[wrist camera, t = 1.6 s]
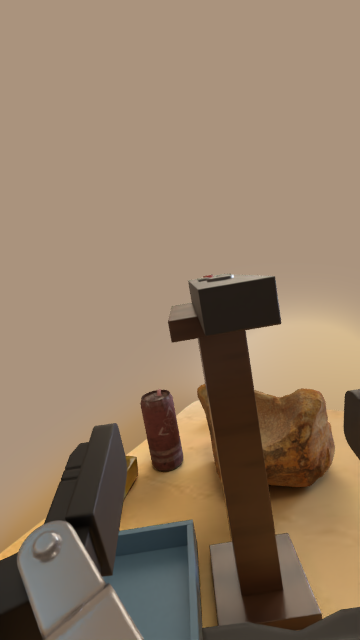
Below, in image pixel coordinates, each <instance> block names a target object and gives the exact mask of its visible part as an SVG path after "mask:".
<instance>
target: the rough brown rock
mask: <svg viewBox="0 0 360 640" xmlns="http://www.w3.org/2000/svg"><path fill="white" fill-rule="evenodd" d="M254 392H255V399H256V406H257V413H258V420H259V427H260V433H261V440H262V447H263V454H264V461H265V468H266V474H267V481H268V485H281V486H288V487H305V486H310V485H312V484H313V483H314V482H315V481H316V480H317V479H318V478H320V477H322V476H323V475H324V473H325V472H326V471H327V470H328V468H329V467H330V465H331V464H332V461H333V457H334V452H335V445H334V441H333V436H332V432H331V425H330V423H329V422H328V416H327V412H326V403H325V400H324V397H323V395H322V394H321V393H320V392H319V391H315V390H312V389H298V390H297V391H295V392H294V393H292V394H290V395H286V396H283V397H275V396H272V395H268V394H264V393H263V392H259V391H256V390H254ZM197 393H198V398H199V400H200V402H201V404H202V407H203V409H204V411H205V414H206V418H207V421H208V426H209V430H210V435H211V441H212V449H213V455H214V460H215V464H216V470H217V473H218V475H219V478H220V479H221V475H220V469H219V463H218V457H217V451H216V445H215V439H214V433H213V427H212V421H211V415H210V409H209V403H208V397H207V391H206V385H205V384H204V385H201V386H200V387H199V388H198V391H197Z"/></svg>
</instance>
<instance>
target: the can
mask: <svg viewBox="0 0 360 640" xmlns="http://www.w3.org/2000/svg"><path fill="white" fill-rule="evenodd" d="M141 399H142V400H141V409H142V414H143V419H144V424H145V429H146V434H147V440H148V445H149V450H150V455H151V460H152V464H153V466H154V467H155V468H156V469H157V470H159V471H171V470H174V469H176V468H177V467H179V466H180V465H181V463H182V461H183V452H182V447H181V441H180V436H179V430H178V425H177V419H176V414H175V408H174V403H173V397H172V395H171V394H170V392H169V391H167V390H160V389H159V390H156V391H152V392H149V393H147V394H145V395H143V396H142V398H141Z"/></svg>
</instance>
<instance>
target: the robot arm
mask: <svg viewBox="0 0 360 640" xmlns="http://www.w3.org/2000/svg"><path fill="white" fill-rule="evenodd" d="M344 405H345V406H344V434H345V437H346V440H347V442H348V444H349V446H350V447H351V449H352V450H353V452H354V453H355V454H356V456H357V457H358V458H359V460H360V389H358V390H351V391H347V392H346V394H345V404H344ZM126 478H127V462H126V456H125V453H124V448H123V445H122V440H121V437H120V432H119V428H118V426H117V424H116V423H113V424H107V425H99V426H95V427H94V428H93V431H92V434H91V437H90V441H89V442H87V443H81V444H79V445H78V447H77V448H76V449H75V450H74V451H73V452H72V454H71V455H70V457H69V459H68V462H67V465H66V467H65V471H64V472H63V475H62V478H61V482H60V483H59V486H58V488H57V491H56V494H55V496H54V499H53V501H52V504H51V507H50V510H49V513H48V515H47V517H46V520H45V523H44V525H42V526H40V527H39V528H37V529H36V530H34V531H33V532H32V533H31V534H30V535H29V536H28V537H27V538H26V539H25V541H24V542H23V544H22V546H21V547H20V549H19V552H17V553H16V554H14V555H12V556H10V557H7V558H5V559H3V560H1V561H0V640H144V639H143V637H142V635H141V634H140V632H139V630H138V628H137V627H136V625H135V623H134V622H133V620H132V618H131V617H130V615H129V613H128V612H127V610H126V608H125V607H124V605H123V603H122V602H121V600H120V598H119V597H118V595H117V593H116V592H115V590H114V589H113V587H112V586H111V584H110V583H107V584H106V582H105V581H104V579H103V578H102V577H104V576H112V575H113V568H114V561H115V555H116V548H117V541H118V534H119V527H120V520H121V513H122V506H123V499H124V492H125V485H126ZM202 632H203V640H360V607H357V608H349V609H342V610H339V611H337V612H335V613H333V614H331V615H330V616H328V617H326V618H324V619H322V620H320V621H318V622H316V623H314V624H312V625H310V626H308V627H306V628H304V629H302V630H298V631H295V630H289V629H283V628H277V627H272V626H266V625H261V624H255V623H250V622H244V623H236V624H229V625H221V626H214V627H206V628H202Z"/></svg>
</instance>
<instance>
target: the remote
mask: <svg viewBox="0 0 360 640" xmlns="http://www.w3.org/2000/svg"><path fill="white" fill-rule="evenodd" d="M188 282H189V288H190V294H191V300H192V304H193V307H194V309H195V312H196V314H197V316H198V319H199V321H200V324H201V326H202V329H203V331H204V333H205V336H209V335H215V334H221V333H226V332H232V331H238V330H244V329H250V328H256V327H262V326H268V325H274V324H280V323H281V319H280V311H279V303H278V297H277V288H276V281H275V276H253V275H231V274H223V275H217V276H213V275H208V276H204V277H203V278H200V279H195V280H189V281H188Z"/></svg>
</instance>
